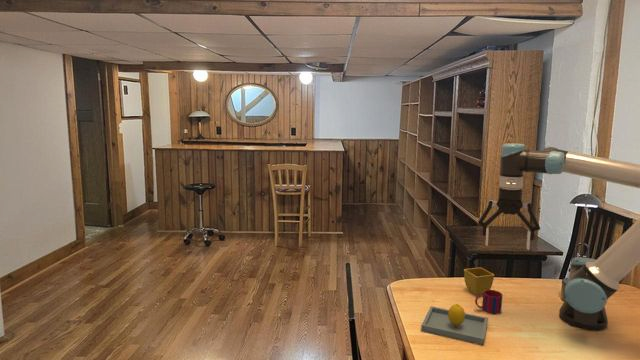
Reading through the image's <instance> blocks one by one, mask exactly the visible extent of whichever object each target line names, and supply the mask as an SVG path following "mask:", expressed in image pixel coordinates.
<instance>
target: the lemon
mask: <svg viewBox="0 0 640 360" xmlns="http://www.w3.org/2000/svg"><path fill="white" fill-rule="evenodd" d="M448 310H449V312H448V318H449V321H450V322H451V323H452V324H454V325H455V326H457V325H460V324H462V323H463V321H464V319H465V313H466V312H465V309H464V308H463V307H462V306H461V305H460V304H459V303H456V304H453V305H451V306H450V307H449V309H448Z"/></svg>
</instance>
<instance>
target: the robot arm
mask: <svg viewBox="0 0 640 360" xmlns="http://www.w3.org/2000/svg"><path fill="white" fill-rule="evenodd" d="M499 167H500V169H499V170H500V171H499V189H498V200H496V201H495V200H493V199H489V200H488V205H487V206H486V208H485V210H484V212H483V213H482V215H481V217H480V218H479V220H478V222H477V225H478V226H481V227H482V236H484V237H485V246H487V247H488V246H489V245H488V244H489V231H490V229H489V228H490V226H489V225H490V224H491V223H492V222H493V221H495V220H496V219H497V218H498V217H499V216H500V215H501V214H504V215H511V216H512V215H513V216H514V215H517V216H518V218H520V220H521V221H522V222H523V223H524V224H525V225H526V227H527V228H528V229H527V234H526V250H528V251H530V245H531V241H534V239H535V238H534V237H535V232H536V231H540V230H541V226H540V224H539V222H538V220H537V218H536V216H535V214H534V212H533V210H532V203H531V202H530V201H528V202H523V189H522V188H523V187H524V184H523V183H524V173H533V174H534V173H537V174H546V175H560V174H562V173H567V174H570V175H577V176H581V177H583V178H590V179H593V180H599V181H604V182H607V183H613V184H617V185H622V186H626V187H632V188H637V189H640V164H638V163H632V162H627V161H621V160H616V159H612V158H607V157H601V156H600V157H599V156H595V155H589V154H586V153H579V152H575V151H570V150H569V151H567V150H563V149H559V148H556V147H554V146H553V147H551V146H549V147H545V148H543V149H541V150H530V149H527V148H526V145H525V144H524V143H516V142H515V143H509V142H508V143H504V144H503V145H502V146H501V155H500V166H499ZM495 206H497V208H498V209H497V210H496V211H495V212H494V213H493V214H492V215H490V217H489V218H487V216H488V214H489V213H490V211H491V209H492V208H494V207H495ZM523 207H524V209H525V210H527V212H528V214H529V216H530V218H531V221H532V222H533V223H532V224H531V222H530V221H529V220H528V219H527V218H526V216H525V215H524V214H523V212H522V211H521V209H522V208H523ZM486 218H487V220H485V219H486ZM638 264H640V217H639V218H638V219H637V220H636V221H635V222H634V223H633V224H632V225H631V226H630V227H629V228H628V229H627V230H626V231H624V233H623V234H621V235H620V237H619V238H618V239H616V241H614V242H613V244H611V246H609V247H608V248H607V249H606V250H605V251H604V252H603V253H602V254H601V255H600V256H599V257H598V258H597V259H594V258H590V257H584V256H583V257H580V256H579V257H577V256H575V257H572V259H571V262H570V269H569V274H568V275H569V276H568V278H567V281H566V284H565V286H564V290H563V291H564V297H565V300H563V303H562V305H561V306H560V308H559V313H558V315H559V319H560V320H561V321H562V322H564V323H565V324H567V325H569V326H571V327H573V328H576V329H579V330H580V329H581V330H586V331H593V332H600V331H604V330H606V329H608V324H609V323H608V322H609V320H608V315H607V311H606V310H607V309H606V308H605V307H606V305H607V302H608V300H609V299H610V298H611V297H612V296H613V295H614V294H615V293H617V291H618V290H620V281H621V280H623V278H624V277H626V276H627V275H628V274H629V273H630V272H631V271H632V270H633V269H634V268H635V267H637V265H638Z"/></svg>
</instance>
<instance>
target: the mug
mask: <svg viewBox="0 0 640 360" xmlns="http://www.w3.org/2000/svg"><path fill="white" fill-rule="evenodd" d="M503 296H504V295H503V293H502V292H500V291H498V290H494V289H490V290H485V291H484V292H483V295H476V297H475V299H474V303H475V305H476V306H477V308H479V309H482V312H485V313H487V314H490V315H499V314H501V313H502V305H503V303H502V302H503ZM480 297H481V298H482V304H481V306H480V305H478V299H479V298H480Z"/></svg>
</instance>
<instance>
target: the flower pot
mask: <svg viewBox="0 0 640 360" xmlns="http://www.w3.org/2000/svg"><path fill="white" fill-rule="evenodd" d="M463 276H464V283H465V286H466V288H467V290H468V291H469V292H470V293H472V294H474V295H475V296H478V295H483V292H484V291H485V290H492V287H493V282H494V280H495V274H494V273H492V272H490V271H488V270H486V269H485V268H483V267H472V268H464V269H463Z"/></svg>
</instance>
